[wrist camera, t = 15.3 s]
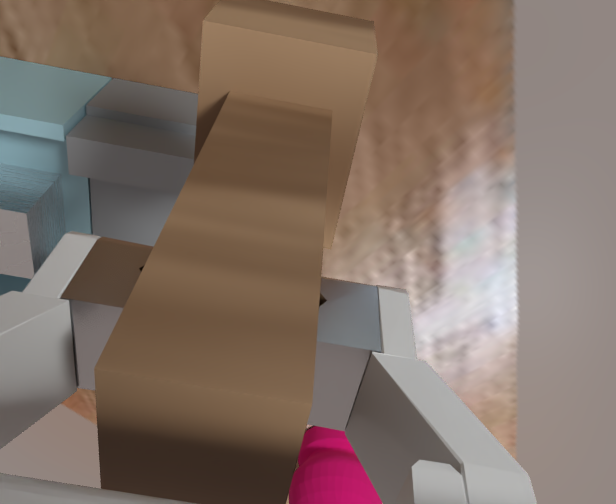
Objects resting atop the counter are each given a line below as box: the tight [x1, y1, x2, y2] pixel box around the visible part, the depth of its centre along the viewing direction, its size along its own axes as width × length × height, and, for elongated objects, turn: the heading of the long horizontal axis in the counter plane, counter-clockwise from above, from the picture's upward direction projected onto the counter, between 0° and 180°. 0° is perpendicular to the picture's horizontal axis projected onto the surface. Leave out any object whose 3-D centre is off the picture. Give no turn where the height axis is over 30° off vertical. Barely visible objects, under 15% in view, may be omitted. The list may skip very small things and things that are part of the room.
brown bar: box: [94, 0, 378, 504], centre depth 12 cm, size 6×4×12 cm
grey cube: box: [0, 163, 66, 279], centre depth 30 cm, size 4×4×4 cm
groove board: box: [66, 78, 198, 247], centre depth 33 cm, size 12×12×6 cm
